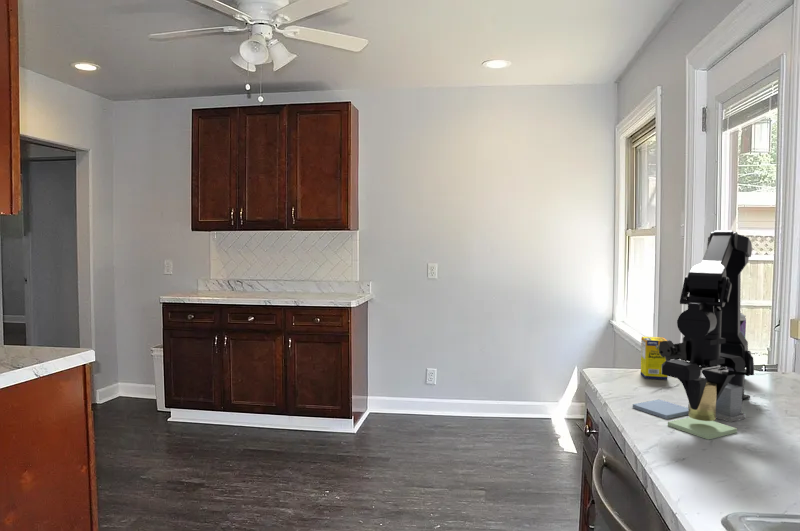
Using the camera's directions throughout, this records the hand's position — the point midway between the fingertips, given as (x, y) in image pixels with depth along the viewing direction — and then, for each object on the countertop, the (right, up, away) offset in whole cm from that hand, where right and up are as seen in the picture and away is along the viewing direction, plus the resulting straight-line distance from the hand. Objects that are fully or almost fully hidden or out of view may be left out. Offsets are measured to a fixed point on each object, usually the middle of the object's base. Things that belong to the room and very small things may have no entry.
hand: (702, 407), depth 115 cm
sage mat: (0, -5, 0) cm, 4 cm away
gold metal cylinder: (0, -2, 0) cm, 2 cm away
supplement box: (+10, -3, +43) cm, 44 cm away
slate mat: (-2, -4, +12) cm, 13 cm away
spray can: (+32, -3, +43) cm, 54 cm away
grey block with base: (+8, -4, +10) cm, 14 cm away
